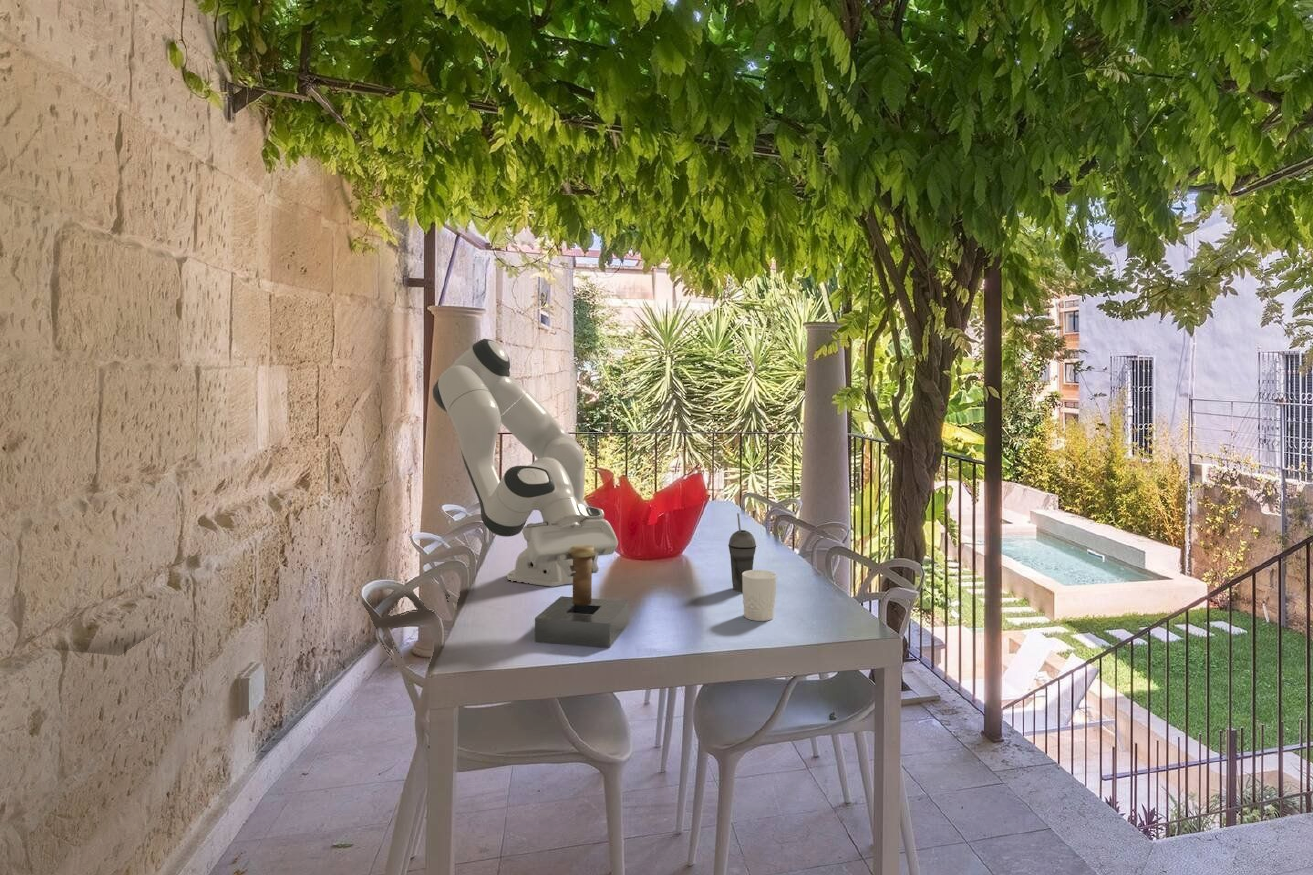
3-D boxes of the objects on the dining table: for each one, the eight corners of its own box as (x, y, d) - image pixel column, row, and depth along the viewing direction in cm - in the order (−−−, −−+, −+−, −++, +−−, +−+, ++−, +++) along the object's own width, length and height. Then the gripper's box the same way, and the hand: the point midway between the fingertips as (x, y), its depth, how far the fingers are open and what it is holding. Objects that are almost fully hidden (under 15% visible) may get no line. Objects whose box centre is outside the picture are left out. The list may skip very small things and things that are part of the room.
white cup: (738, 611, 171) (739, 570, 170) (771, 611, 172) (772, 569, 171) (745, 622, 163) (746, 578, 162) (779, 621, 164) (780, 578, 163)
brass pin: (567, 605, 154) (567, 549, 153) (574, 598, 159) (574, 544, 158) (589, 607, 153) (590, 550, 152) (596, 600, 158) (597, 545, 157)
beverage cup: (754, 593, 186) (755, 516, 184) (726, 592, 187) (727, 515, 186) (756, 586, 193) (757, 511, 192) (729, 584, 194) (730, 510, 193)
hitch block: (535, 641, 150) (534, 617, 150) (561, 617, 166) (561, 596, 165) (609, 647, 147) (609, 623, 147) (629, 622, 162) (629, 600, 162)
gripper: (524, 516, 155) (541, 571, 147) (609, 508, 166) (629, 559, 158) (516, 533, 159) (533, 587, 151) (599, 524, 170) (619, 575, 162)
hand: (583, 573), depth 155 cm, fingers closed on brass pin, 4 cm apart
